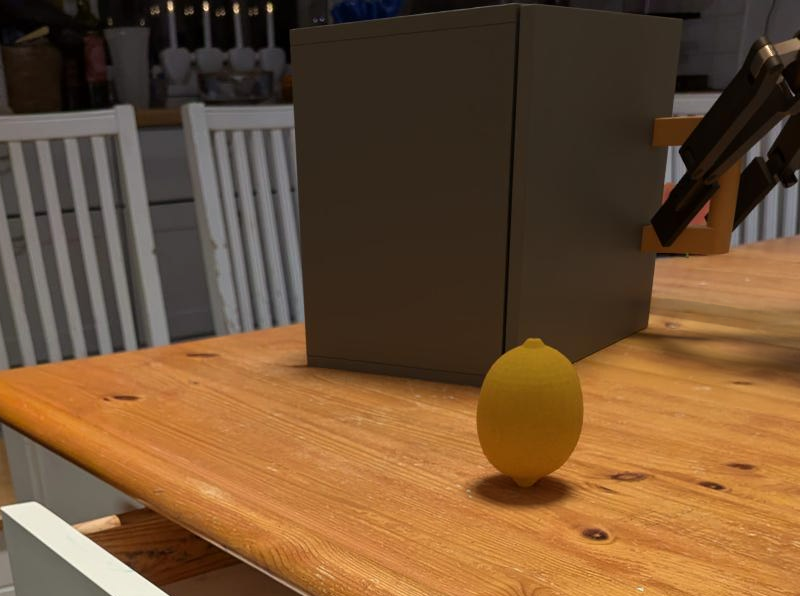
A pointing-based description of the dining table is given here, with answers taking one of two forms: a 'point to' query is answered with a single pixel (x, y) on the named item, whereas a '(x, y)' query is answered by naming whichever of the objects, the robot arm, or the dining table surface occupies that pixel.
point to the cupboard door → (596, 176)
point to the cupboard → (407, 190)
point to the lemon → (530, 412)
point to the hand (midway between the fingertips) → (687, 231)
